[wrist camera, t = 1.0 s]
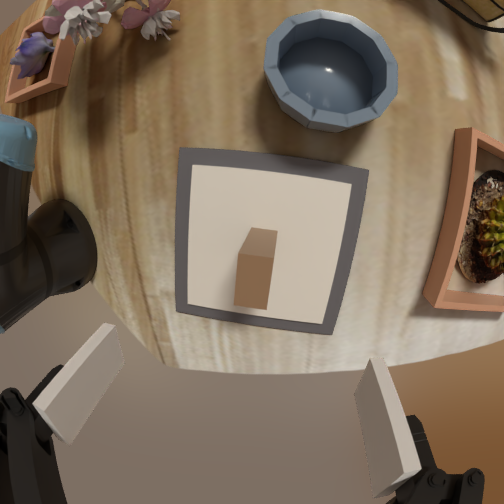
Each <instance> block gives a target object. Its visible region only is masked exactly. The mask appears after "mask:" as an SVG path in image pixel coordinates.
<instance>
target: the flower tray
mask: <svg viewBox="0 0 504 504" xmlns="http://www.w3.org/2000/svg"><path fill="white" fill-rule="evenodd" d="M44 17H45V15H44V16H42V17H41V18H39V19H38V20H36V21H34V22H33V23H31V24H30V25H28V26H27V27H25V28H24V30H23V33H22V36H21V39H20V42H19V45H18V47H19V46H20V44H21V43H22V42H24V41H22V39H26V38H31V36H30V35H31V34H32V33H35V32H41V33H42V32H44V31H45V30H44V27H43V24H42V23H43V18H44ZM59 35H60V33H59ZM77 35H78V33H77ZM79 35H80V34H79ZM75 49H76V45H74V42H73V40H72V37H71V35H67V36H66V37H65V39H64V40H61V39H59V37H58V40H57V43H56V47H55V50H54V54H53V58H52V62H51V66H50V70H49V75H48V78H47V79H44V80H42V81H40V82H37V83H35V84H33V85H31V86H28V87H26V88H25V84H26V79H27V77H25V78H23V79H17V78H18V75H19V74H20V72H21V68H20V67H21V66H20V65H13V66H12V70H11V74H10V78H9V83H8V88H7V93H6V98H5V103H22V102H24V101H26V100H29V99H31V98H34V97H36V96H39V95H42V94H44V93H47V92H50V91H53V90H56V89H59V88H62V87H65V86H67V85H68V80H69V75H70V70H71V65H72V61H73V57H74V53H75ZM19 51H20V49H18V50H17V51H16V53H17V52H19Z"/></svg>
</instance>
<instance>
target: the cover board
mask: <svg viewBox="0 0 504 504" xmlns="http://www.w3.org/2000/svg"><path fill="white" fill-rule="evenodd" d="M351 186H352V184H348V183H343V182H337V181H332V180H326V179H320V178H313V177H307V176H300V175H293V174H286V173H278V172H270V171H261V170H252V169H243V168H232V167H220V166H206V165H192V177H191V192H190V210H189V234H188V304H192V305H197V306H202V307H208V308H213V309H219V310H225V311H231V312H237V313H243V314H250V315H256V316H263V317H270V318H277V319H285V320H292V321H301V322H309V323H318V324H322V322H323V318H324V315H325V311H326V307H327V303H328V299H329V295H330V291H331V287H332V283H333V279H334V275H335V270H336V266H337V261H338V257H339V252H340V247H341V242H342V237H343V232H344V227H345V221H346V216H347V210H348V204H349V198H350V192H351Z"/></svg>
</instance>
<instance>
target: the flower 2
mask: <svg viewBox="0 0 504 504" xmlns="http://www.w3.org/2000/svg"><path fill="white" fill-rule="evenodd" d="M136 1H137V2H138V3H139V4H140V5H141V6H142V10H141V11H140V10H138V9H135V8H132V7H129V8H127V9H126V10H125V11H124V14H123V17H122V21H121V25H122V26H123V27H124V28H125V29H133V28H136V27H139V26H141V25H142V24H143V27H142V29H141V34H142V36H143V37H144V38H145V39H147V40H149V37H150V34H151V35H152V36H153V37H154V39H155V41H156V39H157V38H156V35H157V33H158V35H159V34H162V33H163V34H164V35H165V37H166V38H167V39H168V40H171V39H170V38H169V37H168V36H167V35H166V33H165V32H164V31H163V30H162V29H161V28H165V29H166V30H168V29H169V28H172V26H171V24H170V23H172V22H171V21H169V20H170V19H176V20H180V14H179V12H177V11H174V10H167V11H163V10H164V9H165V8H166V7H167V5H168V4H169V2H170V1H171V0H148V1H149V7H148V8H147V5H145V4H144V3H143V2H142V1H141V0H136ZM124 2H125V0H104V1H103V0H53V1H52V5H51V6H50V7H49V8H48V9H47V10H46V11H45V17H44V18H43V23H42V24H43V27H44V30H45V32H47V33H50V34H56V33H58V32H60V35H59V39H61V40H64V39H65V37H66V36H67V35H71V37H72V40H73V42H74V45H77V44H78V42H79V39H80V38H79V34H80V35H81V36H82V38H83V39H84V44H85V43H86V40H85V39H86V38H87V37H88V36H89V38H90V39H91V40H92V35H93V36H95V37H96V38H97V37H98V36H99V35H100V34H101V33H102V28H103V27H99V26H98V24H97V23H96V22H99V23H106V24H108V21H109V19H110V17H111V14H110V13H112V12H114V11H116V10H118V9H119V8H121V7H122V6H124ZM77 33H78V35H77ZM91 34H92V35H91ZM162 36H163V35H162Z"/></svg>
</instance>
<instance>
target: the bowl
mask: <svg viewBox="0 0 504 504" xmlns="http://www.w3.org/2000/svg"><path fill="white" fill-rule="evenodd" d="M264 72H265V75H266V79H267V83H268V85H269V87H270V89H271V91H272V93H273V95H274V98H275V99H276V101H277V103H278V105H279V107H280V109H281V110H282V111H283V112H285V113H286V114H288V115H289V116H290V117H291V118H293V119H294V120H296V121H297V122H299V123H300V124H302V125H303V126H305V127H307V128H311V129H316V130H320V131H328V132H334V133H339V132H342V131H344V130H347V129H351V128H353V127H356V126H359V125H362V124H365V123H367V122H369V121H372V120H374V119H376V118H378V117H380V116H381V115H382V113H383V112H384V111H385V109H386V108H387V107H388V105H389V104H390V103H391V101H392V100H393V99H394V97H395V96H396V95H397V89H398V64H397V62H396V60H395V58H394V56H393V54H392V53H391V51H390V49H389V47H388V46H387V44H386V42H385V41H384V39H383V37H382V36H381V35H380V34H378V33H377V32H376V31H374V30H373V29H372V28H370V27H369V26H367V25H366V24H364V23H363V22H361V21H360V20H358V19H357V18H355V17H354V16H353V17H352V16H351V15H347V14H342V13H337V12H332V11H326V10H320V9H318V10H313V11H309V12H305V13H302V14H298V15H294V16H291V17H288V18H286V19H285V20H284V21H283V22H282V24H281V25H280V26H279V27H278V28H277V29H276V30H275V31H274V32H273V33H272V34H271V35H270V36H269V37H268V38H267V43H266V52H265V60H264Z"/></svg>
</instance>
